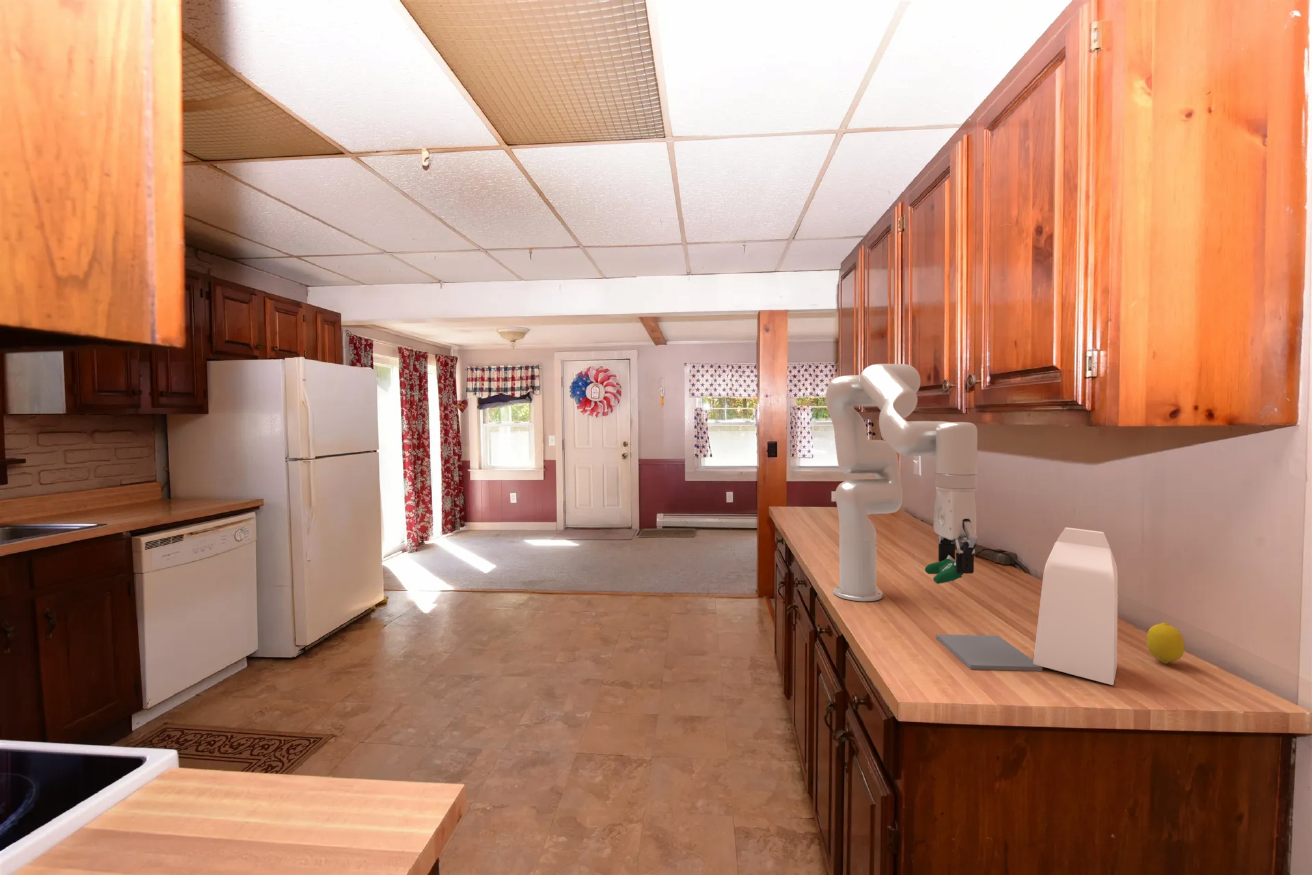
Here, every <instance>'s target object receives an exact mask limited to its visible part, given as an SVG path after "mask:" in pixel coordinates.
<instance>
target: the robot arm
mask: <svg viewBox="0 0 1312 875" xmlns="http://www.w3.org/2000/svg"><path fill="white" fill-rule="evenodd" d="M920 387H921V376H920V373H919V372H918V370H917V369H916V368H915V367H914V366H913V365H910V364H906V363H875V364H871V365H868V366H867V367H865V368H864V369H863V370H862V371H861V373H860V374H858V375H857V374H848V375H841V376H837V377H835V378H832V380H831V381H830V382H829V383H828V385H827V388H826V391H825V401H826V403H825V404H826V407H827V408H826V409H827V411H828V414H829V417H830V419H831V422H832V423H831V424H832V427H833V433H834V434H833V435H834V442H835V443H834V444H835V451H836V459H837V465H838V468H839V470H840V472H842V473H844V474H845V475H874V476H875V477H874V478H859V479H857V478H854V479H848V480H845V481H843V482H841V483H839V484H838V486H837V487H836V489H835V502H836V507H837V514H838V526H839V528H838V529H839V533H838V535H839V536H838V538H839V541H838V542H839V545H838V546H839V547H838V548H839V552H838V553H839V554H838V555H839V558H838V560H839V571H838V572H839V585H836V586H835V587H833V594H834V595H835V596H836V597H838V598H841V599H844V600H849V601H855V602H874V601H875V602H876V601H878V600H881V599H882V598H883V592H882V590H880V589H879V588H877V531H876V527H875V525H874V524H873V522H872V521H871V519H870V518H869V516H868V515H879V514H880V515H881V514H894V513H896V512H898V511H899V510H900V509H901V506H902V504H903V488H902V487H903V486H902V481H901V480H902V479H901V472H900V471H901V470H900V465H899V458H898V457H899V456H898V454H899V455H901V456H904V457H920V456H931V457H935V490H936V492H935V499H934V510H933V511H934V512H933V531H934V532H935V534H937V535H938V537H937V541H938V547H937V548H938V552H937V553H938V558H937V559H938V561H937V562H940V561H943V560H945V559H946V558H947V557H948V555H949V556H951V557H952V558H953V559H954V560H955V561H956V572H957V573H964V574H970V575H971V574H974V572H975V571H974V570H975V554H976V550H975V549H976V547H977V545H976V544H977V540H978V534H977V507H976V497H975V492H977V491H978V428H977V425H976V424H974V423H972V422H965V421H964V422H962V421H957V422H956V421H955V422H954V421H952V422H951V421H941V420H939V421H937V420H936V421H935V420H933V421H931V420H915V421H913V420H911V421H907V420H906V419H905V418H907V417H908V416H910V415H911V414H912V413H913V412H914V410H915V409H916V408H917V405H918V395H917V393H918V391H919V390H920ZM854 407H877V408H878V409H879V410H880V412H879V416H878V427H879V431H880V434H881V436H882V438H883V439H884V440H882V439H869V438H868V433H867V426H866V423H865V420H864V418H863V417H862V416H861V414H860V413H859V412H858V411H857V410H856V409H855V408H854ZM954 541H955V543H954ZM962 543H963V544H962ZM956 550H957V552H956Z"/></svg>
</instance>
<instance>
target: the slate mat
mask: <svg viewBox="0 0 1312 875" xmlns="http://www.w3.org/2000/svg"><path fill="white" fill-rule="evenodd" d="M935 638H936V639H937V640H938V641H939V642H940V643H941V644H942V645H943V646H944V647H945V648H946V649H947V650H949V651H950V653H952V654H953V655H954V656H955V657H957V659H958V660H960V661H961V662H962V663H963V664H964V665H965V666H966V667H967V668H968V669H969V670H985V671H986V670H987V671H990V670H991V671H1019V672H1020V671H1021V672H1022V671H1023V672H1024V671H1025V672H1027V671H1028V672H1043V667H1042V666H1038V665H1035V664H1033V659H1032V658H1031V657H1029V656H1028V655H1026V654H1025V653H1024V652H1022V651H1021V650H1020V649H1018V648H1016V647H1015V646H1014V645H1012V644H1011V643H1009V642H1008V641H1007V640H1006V639H1004V638H1003V637H1001V636H1000V635H991V634H990V635H985V634H983V635H981V634H980V635H979V634H942V633H941V634H938V633H937V634H936V635H935Z"/></svg>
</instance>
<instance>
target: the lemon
mask: <svg viewBox="0 0 1312 875" xmlns="http://www.w3.org/2000/svg"><path fill="white" fill-rule="evenodd" d="M1145 639H1146V646H1147V649H1148V651H1149V653H1151V655H1152V656H1153V657H1154V658H1156V659H1157V660H1159V661H1160V662H1161V663H1162V664H1164V665H1166V664H1169V663H1172V662H1175V661H1176V662H1177V661H1178V660H1180V659H1181V658H1182V656H1183V655H1184V653H1185V641H1184V640H1185V639H1184V637H1183V635H1182V633H1181V632H1180V631H1179V630H1178V629H1177V628H1176V627H1174V626H1172V625H1170V624H1169V623H1168V622H1165V621H1164V622H1161V623H1157V624H1154V625H1152V626H1151V627H1150V628H1149V629H1148V631H1147V634H1146V638H1145Z"/></svg>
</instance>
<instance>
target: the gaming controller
mask: <svg viewBox="0 0 1312 875" xmlns="http://www.w3.org/2000/svg"><path fill="white" fill-rule="evenodd" d="M924 571H925V573H926V574H929V575H935V576H934V577H933V579H932V580H933V582H934V583H935V584H936V585H940V584H947V583H950V582H955V581H956V580H958V579H962V577H963V575H964V574H965V573H957V572H956V559H955V560H954V559H953V558H952V557H951V556H949V555H948V557H947V558H946V559H945V560H943V561H940V562H939V561H937V562H932V563H929V564H927V565H926V566H925V567H924Z"/></svg>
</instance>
